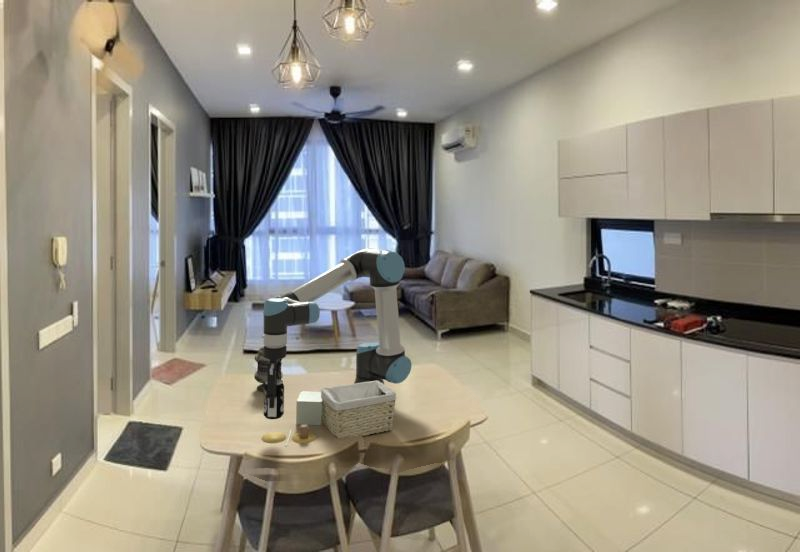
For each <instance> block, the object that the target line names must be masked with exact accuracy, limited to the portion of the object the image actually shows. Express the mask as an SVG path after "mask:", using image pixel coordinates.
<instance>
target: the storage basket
mask: <svg viewBox="0 0 800 552" xmlns="http://www.w3.org/2000/svg"><path fill="white" fill-rule="evenodd" d="M384 384H385V383H384ZM384 384H383V383H381V382H379V381H377V380H376V381H370V382H362V383H356V384H354V383H351V384H343V385H335V386H329V387H322V388H321V389H320V392H321V398H322V401H323V410H324V411H323V414H324V415H323V419H324V420H323V422H324V423H323V424H324V425H325V426H326V428H328V430H330V432H331V433H332V434H333V435H334V436H335V437H337V439H343V438H351V437H358V436H360V435H362V437H366V436H371V435H370V434H373V435H375V434H374V433H376V434H380V432H381V433H385V432H384V431H386V432H389V431H388V430H390V431H392V430H393V425H394V416H395V415H394V414H395V406H396V400H397V394H396V392H395V391H393V390H392V389H391V388H390V387H388V386H387V385H386V384H385V385H384ZM381 391H382V392H384V393H385V394H386V395H381Z"/></svg>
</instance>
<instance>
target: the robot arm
mask: <svg viewBox="0 0 800 552" xmlns="http://www.w3.org/2000/svg"><path fill="white" fill-rule="evenodd" d="M405 269H406V267H405V262H404V259H403V257H402V256H401V255H400V254H399V253H397V252H396V251H393V250H389V249H376V248H364V249H361V250H358V251H356V252H353V253H352V254H350V255H347V256H346V257H345V258H342V259H341V260H340V261H339V264H337V265H335V266H333V267H331V268H330V269H328V270H326V271H324V272H323V273H321V274H319V275H317V276H316V277H314V278H313V279H311V280H309V281H307V282H305V283H303V284H301V285H300V286H298V287H296V288H295V289H293V290H291V291H289V292H287V293H285V294H284V295H274V296H272V297H271V298H267V299H265V301H264V304H263V312H262V313H263V314H262V315H263V334H262V335H261V338H262V339H263V345H264V346H262V347H263V357H264V358H266V359H269V360H270V361H269V363H268V369H267V375H268V377H267V396H265V398H268V417H276V412H277V397H276V388H277V379H280V380H282V379H281V372H282V360H283V359H284V358H286V357H287V344H288V327H292V326H293V327H294V326H302V325H311V324H315V323H317V322H318V321H319V319H320V316H321V315H320V312H321V311H320V307H319V305H318V304H317V303H316V301H317V300H319V299H320V298H322V297H324V296H325V295H327V294H329V293H330V292H332V291H333V290H335V289H338V287H340V286H342V285H344V284H346V283H347V282H349V281H350V282H354V281H356V280H358V279H360V278H369V286H370V287H371V288H372V289H373V290H374V298H375V299H374V300H375V310H376V322H377V333H378V334H377V335H378V342H377V341H376V342H373V341H372V342H363V343H360V344H358V346H357V347H356V355H355V356H356V359H355V361H356V363H355V367H356V368H355V380H354V382H353V384H356V383H362V382H370V381H376V380H377V381H379V382H381V383H383V384H384V385H386V384H385V381H386V382H387V383H392V384H395V385H396V384H397V385H398V384H401V383H403V382H404V381H406V380H407V378H408V377H409V375H410V374H411V371H412V361H411V359H410V358H409V357H408V356H406V352H405V347H404V345H402V344H401V335H400V323H399V322H400V320H399V308H398V295H397V294H398V293H397V287H398V286H399V285H400V282H401V279H402V278H403V277H404V274H405V271H406V270H405ZM381 395H386V394H385V393H384V392H382V391H381Z"/></svg>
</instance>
